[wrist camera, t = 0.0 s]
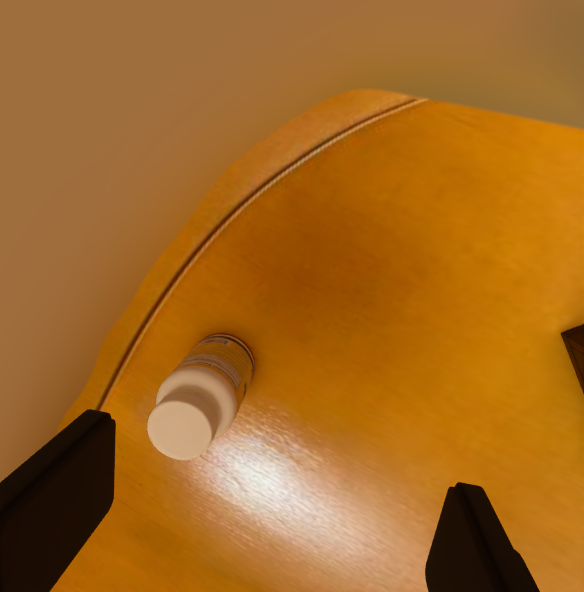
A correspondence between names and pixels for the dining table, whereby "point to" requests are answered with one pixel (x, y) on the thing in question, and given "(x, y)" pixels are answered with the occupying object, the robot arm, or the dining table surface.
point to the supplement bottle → (201, 397)
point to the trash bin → (576, 350)
